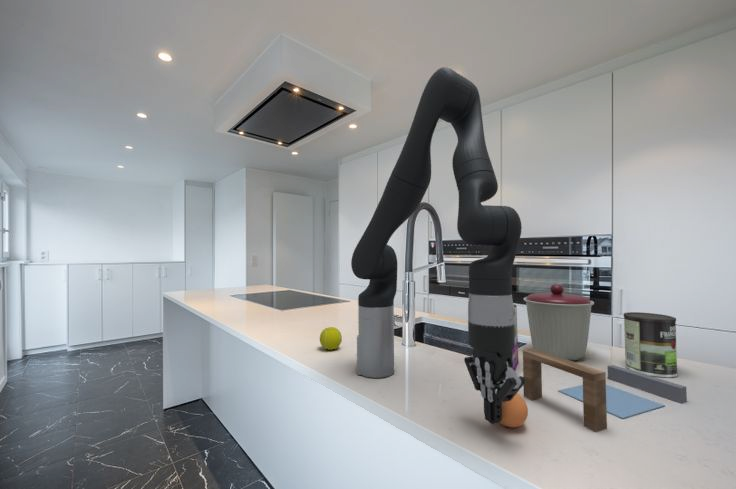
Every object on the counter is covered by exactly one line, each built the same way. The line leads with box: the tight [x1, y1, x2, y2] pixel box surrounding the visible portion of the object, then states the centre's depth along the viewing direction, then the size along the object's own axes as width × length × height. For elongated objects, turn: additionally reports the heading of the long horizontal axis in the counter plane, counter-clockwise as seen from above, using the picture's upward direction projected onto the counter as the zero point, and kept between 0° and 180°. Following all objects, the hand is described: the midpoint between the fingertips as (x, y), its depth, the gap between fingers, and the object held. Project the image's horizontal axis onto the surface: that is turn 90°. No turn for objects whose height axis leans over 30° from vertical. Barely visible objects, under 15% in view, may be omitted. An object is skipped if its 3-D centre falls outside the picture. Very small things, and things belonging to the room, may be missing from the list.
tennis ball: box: [319, 326, 343, 351], centre depth 104 cm, size 7×7×7 cm
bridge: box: [522, 348, 608, 433], centre depth 63 cm, size 3×15×10 cm, turn 22°
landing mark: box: [557, 384, 666, 420], centre depth 68 cm, size 13×13×1 cm
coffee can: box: [623, 311, 678, 379], centre depth 84 cm, size 10×10×14 cm
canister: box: [523, 283, 595, 362], centre depth 96 cm, size 18×18×21 cm
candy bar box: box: [511, 303, 520, 371], centre depth 87 cm, size 11×5×16 cm, turn 148°
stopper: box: [607, 364, 688, 404], centre depth 72 cm, size 2×14×3 cm, turn 22°
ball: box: [500, 392, 529, 428], centre depth 58 cm, size 6×6×6 cm
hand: (492, 421), depth 56 cm, fingers closed
